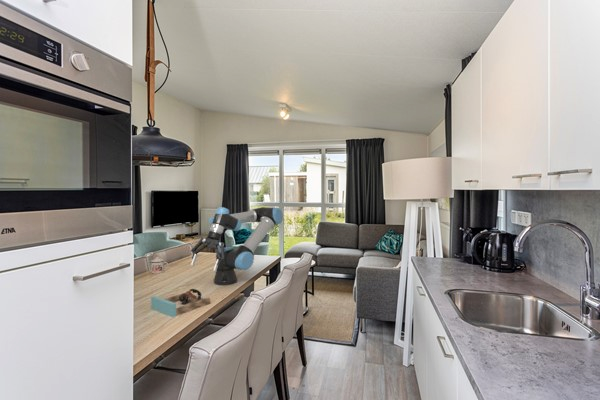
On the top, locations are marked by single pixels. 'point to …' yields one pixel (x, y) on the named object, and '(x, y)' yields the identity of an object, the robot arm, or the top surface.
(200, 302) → the channel
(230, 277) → the robot arm
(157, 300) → the end stop
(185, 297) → the pottery mug
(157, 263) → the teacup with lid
